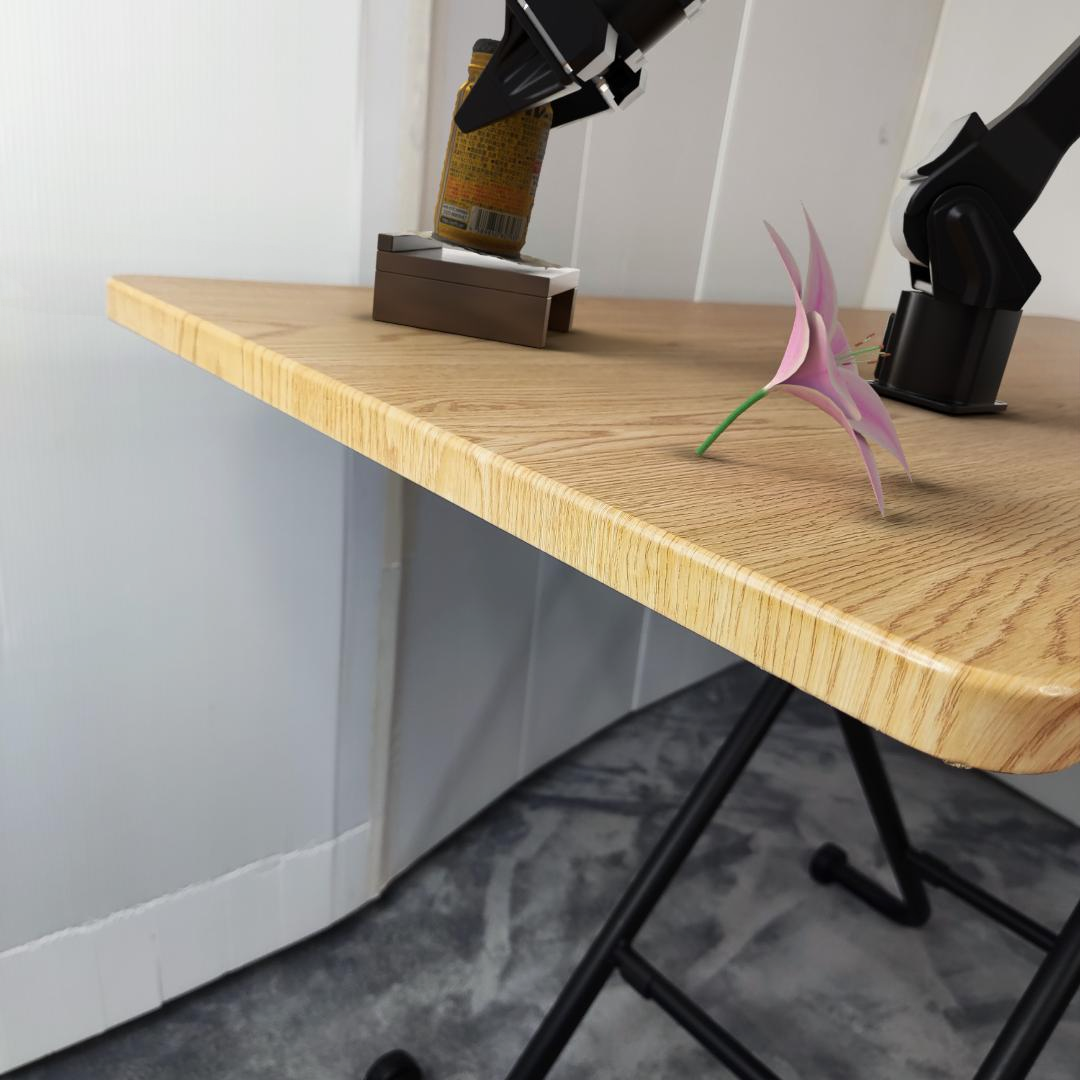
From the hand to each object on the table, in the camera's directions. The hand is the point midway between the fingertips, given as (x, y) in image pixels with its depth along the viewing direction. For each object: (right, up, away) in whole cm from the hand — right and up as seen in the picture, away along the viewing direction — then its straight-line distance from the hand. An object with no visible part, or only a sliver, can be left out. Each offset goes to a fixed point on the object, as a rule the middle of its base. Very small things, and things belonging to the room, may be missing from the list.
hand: (480, 133), depth 59 cm
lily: (+14, -23, -23) cm, 35 cm away
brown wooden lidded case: (0, -11, +4) cm, 12 cm away
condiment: (0, -7, +2) cm, 7 cm away
